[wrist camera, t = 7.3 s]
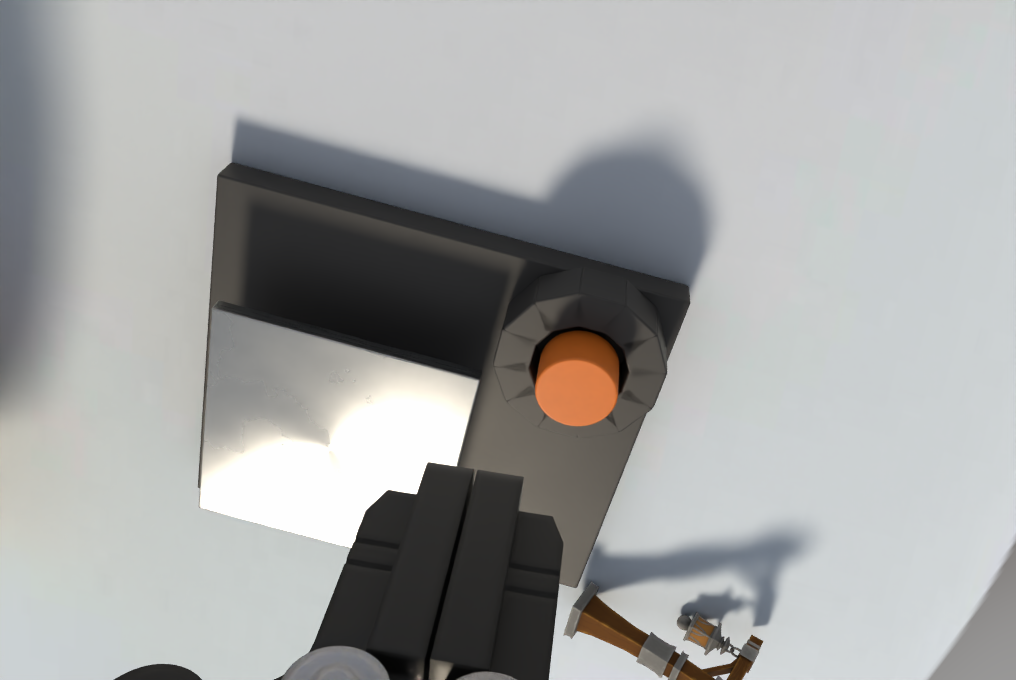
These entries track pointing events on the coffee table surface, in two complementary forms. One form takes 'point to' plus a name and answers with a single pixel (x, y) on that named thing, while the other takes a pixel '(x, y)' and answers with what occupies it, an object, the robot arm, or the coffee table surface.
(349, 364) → the pan
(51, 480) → the coffee table surface
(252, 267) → the scale
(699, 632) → the wooden lantern bracket
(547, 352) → the button
